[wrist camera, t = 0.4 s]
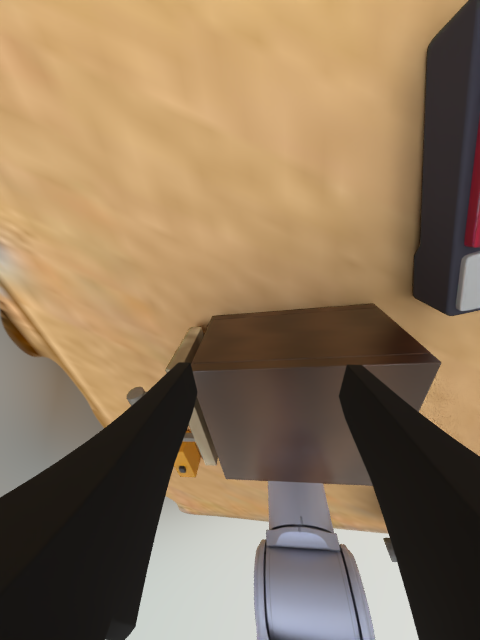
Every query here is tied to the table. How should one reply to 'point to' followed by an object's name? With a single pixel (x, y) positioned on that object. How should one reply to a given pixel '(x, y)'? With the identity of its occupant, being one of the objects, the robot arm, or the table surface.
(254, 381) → the cabinet
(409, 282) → the table surface
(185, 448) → the box cutter
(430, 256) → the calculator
